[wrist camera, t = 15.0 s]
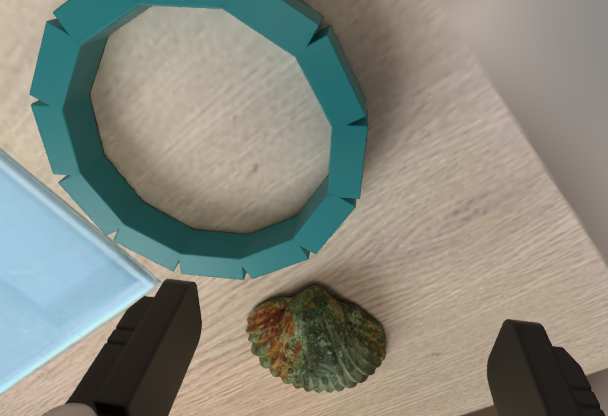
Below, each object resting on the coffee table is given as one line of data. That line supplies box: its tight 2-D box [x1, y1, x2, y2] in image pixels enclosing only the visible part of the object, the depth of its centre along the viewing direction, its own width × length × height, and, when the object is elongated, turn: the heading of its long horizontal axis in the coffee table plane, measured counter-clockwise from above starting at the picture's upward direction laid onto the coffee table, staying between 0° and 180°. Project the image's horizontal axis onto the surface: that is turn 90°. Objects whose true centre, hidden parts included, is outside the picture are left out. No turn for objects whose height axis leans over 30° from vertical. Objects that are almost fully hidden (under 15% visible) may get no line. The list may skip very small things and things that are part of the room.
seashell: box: [246, 285, 386, 393], centre depth 28 cm, size 10×4×10 cm
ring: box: [30, 0, 368, 280], centre depth 21 cm, size 16×16×2 cm
